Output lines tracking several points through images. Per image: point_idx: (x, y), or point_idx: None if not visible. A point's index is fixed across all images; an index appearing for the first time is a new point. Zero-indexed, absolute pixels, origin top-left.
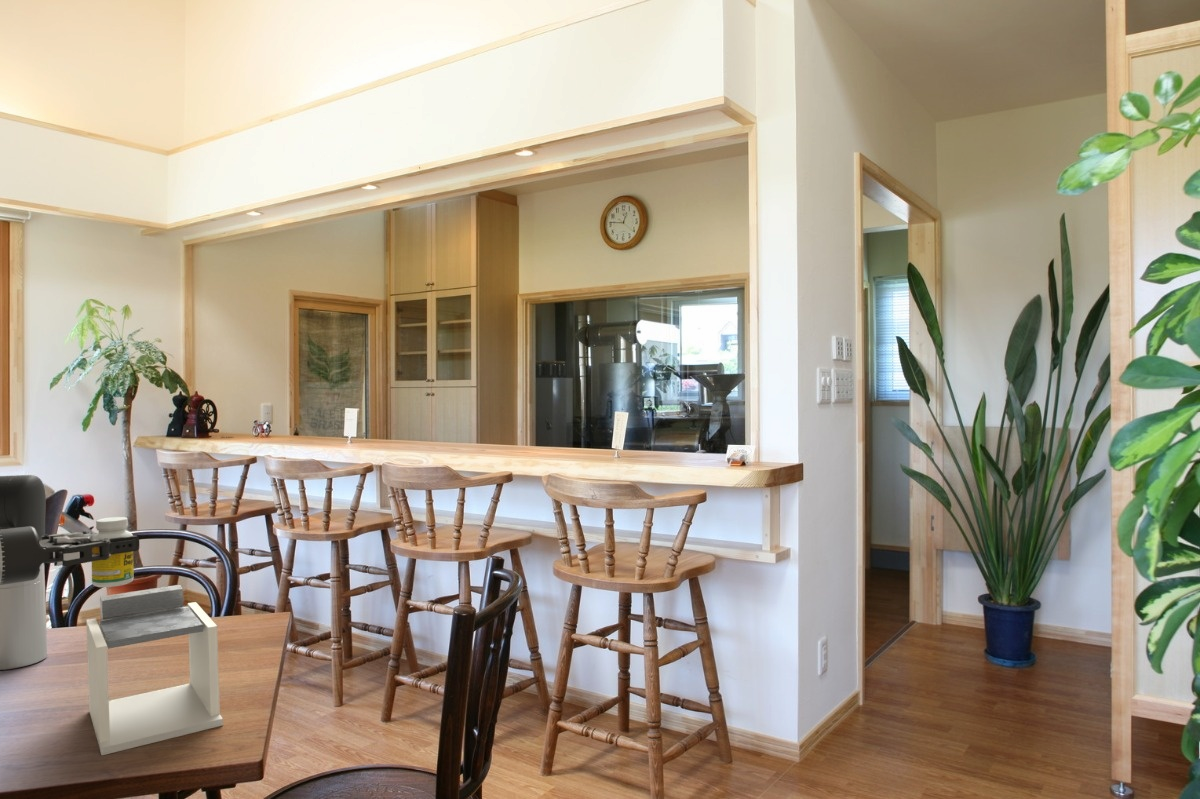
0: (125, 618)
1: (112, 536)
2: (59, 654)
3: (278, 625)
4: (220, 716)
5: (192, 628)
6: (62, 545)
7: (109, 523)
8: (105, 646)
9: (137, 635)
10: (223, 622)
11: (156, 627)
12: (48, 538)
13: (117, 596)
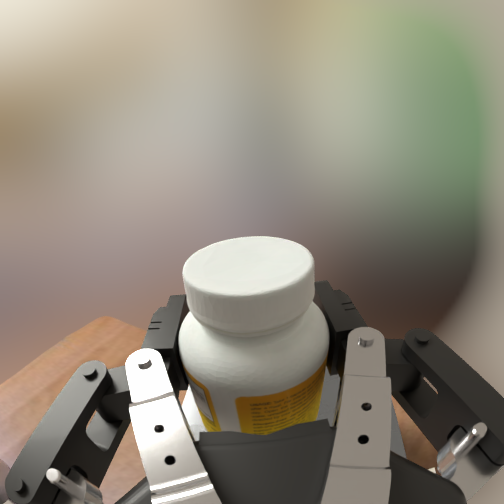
0: None
1: (318, 320)
2: (9, 455)
3: (126, 325)
4: None
5: None
6: (438, 485)
7: (313, 275)
8: (433, 469)
9: (395, 432)
10: (73, 345)
11: None
12: (44, 495)
13: (198, 434)
